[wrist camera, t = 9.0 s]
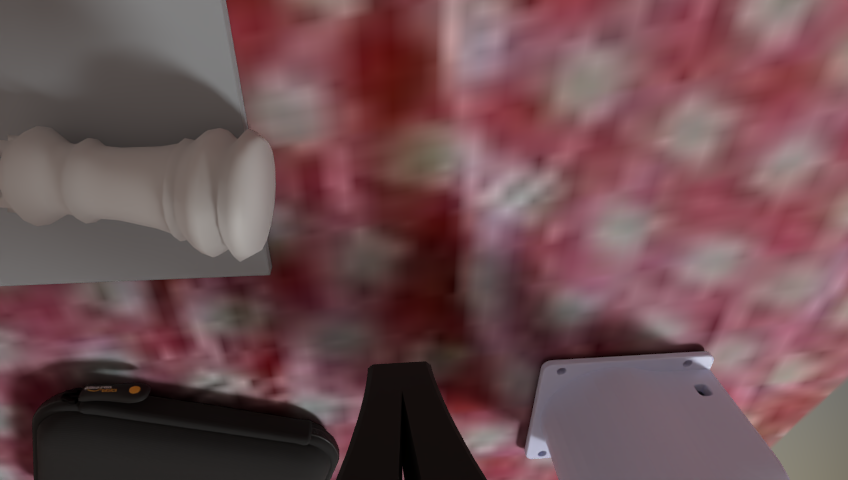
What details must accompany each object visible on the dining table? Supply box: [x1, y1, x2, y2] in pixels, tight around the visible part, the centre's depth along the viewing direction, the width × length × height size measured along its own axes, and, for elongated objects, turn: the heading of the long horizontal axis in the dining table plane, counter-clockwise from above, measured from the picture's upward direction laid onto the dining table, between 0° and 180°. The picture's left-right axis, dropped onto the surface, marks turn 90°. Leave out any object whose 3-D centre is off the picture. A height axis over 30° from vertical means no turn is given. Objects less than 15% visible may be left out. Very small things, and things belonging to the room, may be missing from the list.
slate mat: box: [0, 0, 272, 286], centre depth 18 cm, size 14×11×1 cm
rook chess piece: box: [0, 126, 276, 262], centre depth 17 cm, size 4×4×8 cm
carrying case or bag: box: [32, 383, 339, 480], centre depth 27 cm, size 11×3×15 cm
